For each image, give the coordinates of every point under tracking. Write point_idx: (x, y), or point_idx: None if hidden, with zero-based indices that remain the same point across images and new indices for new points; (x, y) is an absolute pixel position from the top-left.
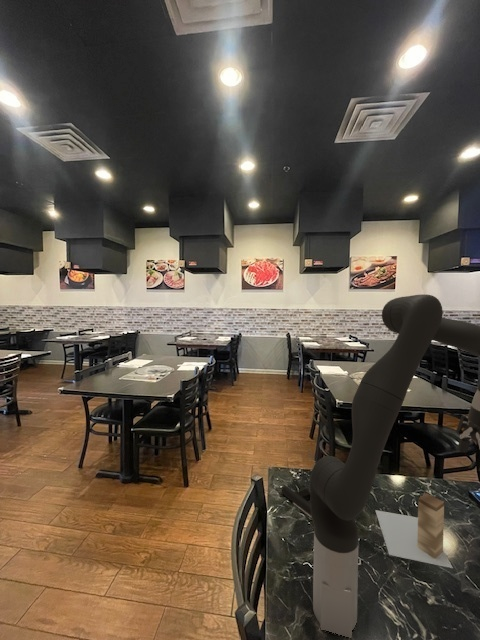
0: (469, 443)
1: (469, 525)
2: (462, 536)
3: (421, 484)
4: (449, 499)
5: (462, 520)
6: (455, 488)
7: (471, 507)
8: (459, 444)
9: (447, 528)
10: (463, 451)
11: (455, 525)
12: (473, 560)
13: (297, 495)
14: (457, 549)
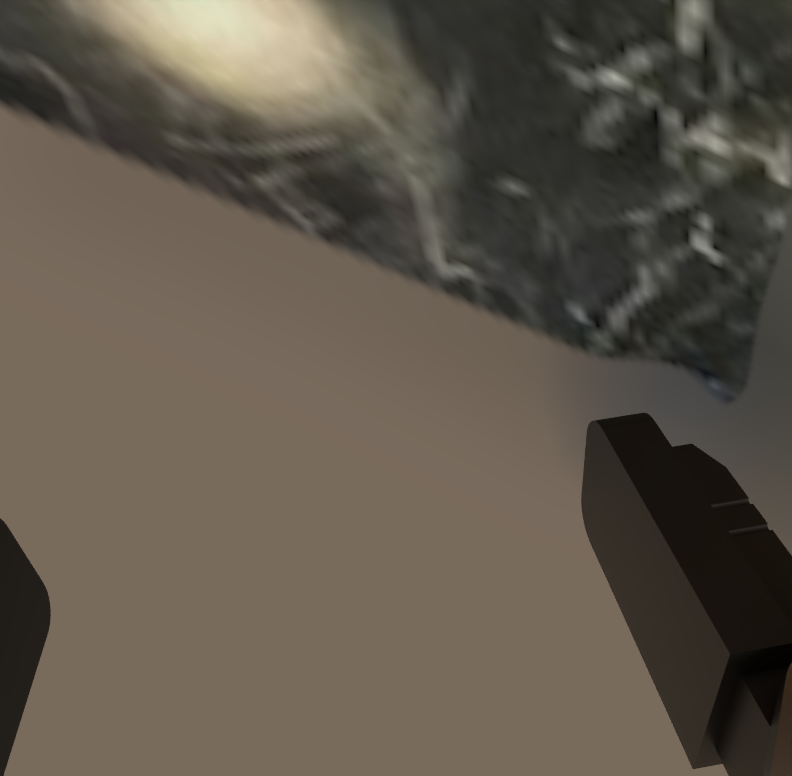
0: (672, 713)
1: (420, 257)
2: (304, 168)
3: (783, 116)
4: (640, 241)
5: (457, 235)
6: (737, 319)
7: (580, 335)
8: (705, 503)
9: (357, 100)
10: (589, 482)
11: (400, 169)
12: (92, 138)
13: None
14: (160, 75)
